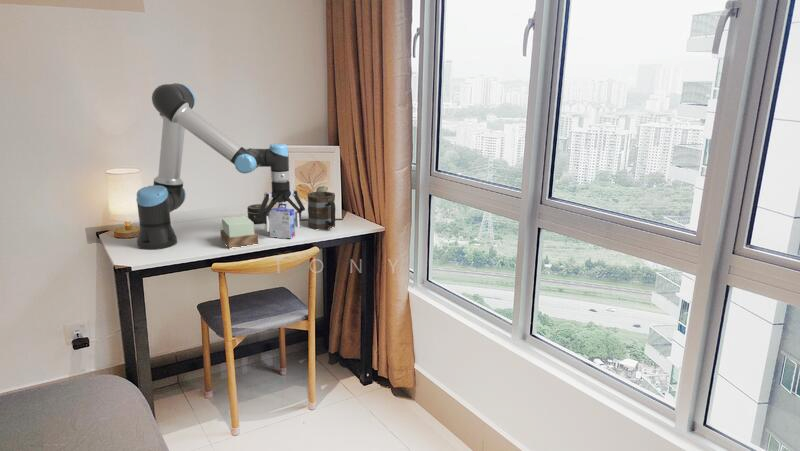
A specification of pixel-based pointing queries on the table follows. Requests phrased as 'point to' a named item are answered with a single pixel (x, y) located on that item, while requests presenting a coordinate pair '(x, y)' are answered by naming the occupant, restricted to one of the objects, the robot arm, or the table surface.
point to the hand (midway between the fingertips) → (282, 228)
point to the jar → (255, 214)
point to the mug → (321, 210)
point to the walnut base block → (239, 240)
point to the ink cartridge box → (282, 222)
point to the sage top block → (238, 226)
